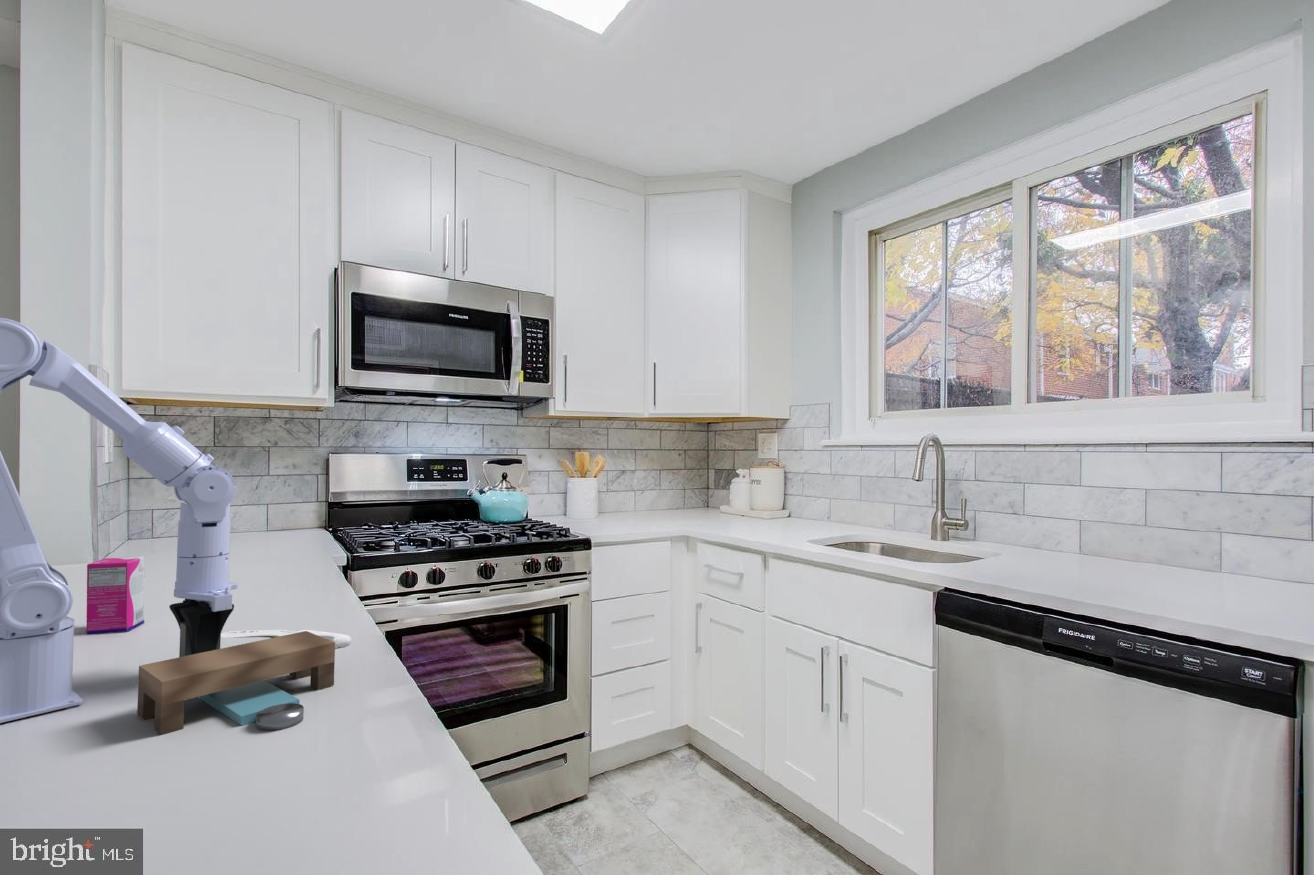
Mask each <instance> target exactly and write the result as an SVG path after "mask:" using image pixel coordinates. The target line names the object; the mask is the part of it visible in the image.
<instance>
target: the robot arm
mask: <svg viewBox="0 0 1314 875" xmlns="http://www.w3.org/2000/svg"><path fill="white" fill-rule="evenodd" d="M28 376H31V378H30V380H29V384H28V385H29V386H32V387H34V388H39V389H44V390H48V391H52V392H57V393H60V394H62V395H63V396H64V397H66V398H67V399H69V400H70V401H72V402H73V403H74V404H76V405H77V406H79V407H80V408H81V409H83V410H84V411H85V412H87V413H88V414H90V415H91V416H92V417H94V418H95V419H97V420H98V421H99V422H101V423H102V424H103V425H104V426H105V427H107V428H109V429H110V430H111V431H113V433H115V434H116V435H118V436H119V437H121V438H122V453H123V455H125V456H126V457H127V458H129V459H130V460H131V461H133V462H134V463H135V464H137V466H139V467H140V468H142V469H143V470H144V471H146V473H148V474H149V475H151V476H152V477H153V478H155V479H156V480H157V481H159V482H160V483H161V484H162V485H163V486H165V487H167V488H169V487H170V488H171V487H173V491H174V494H175V496H176V498H177V499H178V500H179V501H183V502H180V508H179V509H180V510H179V511H180V514H179V515H180V516H179V521H178V524H177V546H176V552H177V554H176V572H175V573H176V575H175V576H176V579H175V582H174V590H173V597H174V598H178V599H183V600H182V602H177V603H171V604H169V606H168V607H169V610H170V612H171V613H172V614H173V616H174V618H175V620H176V622H177V625H178V627H179V629H180V623H182V622H186V624H187V627H188V631H189V635H190V643H191V651H192V655H193V654H198V653H203V652H207V651H212V650H216V648H217V645H218V641H219V638H220V634H222V631H223V628H224V626H225V624H226V622H227V620H228V619H229V617H230V615H231V614H232V613H233V612H234V608H235V604H233V593H231V590H236V589H237V590H238V588H239V583H238V582H234V581H230V582H229V577H230V576H229V572H230V549H231V548H230V547H231V544H230V543H231V518H230V513H231V512H230V511H231V502H233V500H235V497H236V495H237V493H238V491H239V490H238V488H239V487H238V486H236V482H235V478H234V477H233V476H232V474H231V473H230V472H229V471H228V470H226V469H224V468H222V467H219V466H215V465H212V464H211V463H212V462H213V461H214V460H215V458H214V456H212V455H211V454H210V453H206V454H204V453H202V451H200V450H199V449H198V448H197V447H195V445H193V444H192V443H191V442H189V441H188V440H187V439H186V438H184V437H183V435H184V434H185V431H184V430H183V428H180V426H178V425H174V426H172V427H171V426H170V425H168V424H167V423H166V422H164V421H147V420H145V419H144V418H143V417H142V416H140V415H139V413H137V412H136V411H135V410H134V409H133V408H131V407H130V406H129V405H128V404H127V403H125V401H123V400H122V399H121V398H120V397H119V396H118V395H117V394H115V393H114V392H113V391H112V390H111V389H110V388H108V387H107V386H106V385H105V384H104V383H103V382H101V381H100V380H99V379H98V378H97V377H96V376H95V375H93V374H92V373H91V372H90V371H88V370H87V368H86V367H85V366H83V365H82V364H81V363H79V362H78V361H76V360H75V359H74V358H73V357H71V356H70V355H68V354H67V353H65V351H63V350H62V349H60V348H59V347H58V346H56V345H54V344H52V343H51V342H50V341H48V340H46V339H44V340H43V342H42V343H41V340H40V339H39V337H38V335H37V334H36V333H35V332H34V330H32V329H31V328H30V327H28V326H26V325H25V324H23V323H21V322H19V321H16V320H14V319H9V318H5V317H4V318H3V317H0V395H2V393H3V391H4V390H6V388H9V386H12V385H14V384H16V383H17V382H19V381H21V380H23V379H24V378H26V377H28ZM9 470H10V469H9V468H8V465H7V464H6V461H5V459H4V456H3V453H2V451H1V450H0V724H2V723H7V722H10V721H11V722H12V721H15V720H19V719H23V718H27V717H32V716H36V715H41V714H45V713H49V712H54V711H59V710H63V709H66V708H67V709H68V708H71V707H75V706H79V705H82V704H83V702H84V701H83V698H81V696H79V694H77V693H76V691H75V690H74V689H73V665H74V664H73V662H74V638H75V619H74V618H72V617H70V616H68V614H70V611H71V610H72V607H73V604H74V596H73V592H72V590H71V589H70V587H69V583H68V580H67V578H66V577H65V575H64V574H62V573H61V572H60V571H59V570H57V569H55V568H54V567H52V566H51V565H50V564H49V562H48V560H47V558H46V557H45V554H44V551H43V549H42V547H41V544H40V543H39V540H38V538H37V535H36V533H35V531H34V528H33V526H32V523H31V521H30V520H31V519H29V516H28V514H27V511H26V509H25V507H24V506H25V505H24V504H23V502H22V500H21V497H20V495H19V492H18V490H17V487H16V484H15V482H14V480H13V478H12V474H11V473H10V471H9Z"/></svg>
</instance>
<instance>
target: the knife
mask: <svg viewBox="0 0 1314 875" xmlns="http://www.w3.org/2000/svg"><path fill="white" fill-rule="evenodd" d="M303 631H307V632H310V633H313V634H315V635H318V636H320V637H323V638H326V639H328V640H331V641H333V642H335V649H337V648H336V647H341V648H344V647H348V646H350V644H351V643H352V638H351V635H349V634H348V635H347V634H343V633H338V632H337V633H336V632H329V631H322V630H321V631H320V630H311V629H301V630H298V631H293V630H288V629H257V630H231V631H225V632H221V638H222V639H225V638H226V639H227V638H232V639H234V638H233V637H236V638H254V637H272V638H275V637H279V636H284V635H289V634H294V633H299V632H303Z"/></svg>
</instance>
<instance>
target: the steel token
mask: <svg viewBox="0 0 1314 875" xmlns="http://www.w3.org/2000/svg"><path fill="white" fill-rule="evenodd" d="M304 709H305V708H304V705H302V704H300V703H299V704H295V703H288V704H279V705H275V706H271V707H268V708H265V709H263V710H261V711H260V712H258V713H257V715H256V721H255V729H256V730H258V731H261V732H276V731H282V730H286V729H290V728H292V727H295V726H297V725H299V724H300V723H302V722H303V721H304V714H305V713H304V712H305V711H304Z"/></svg>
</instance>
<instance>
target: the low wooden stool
mask: <svg viewBox="0 0 1314 875" xmlns="http://www.w3.org/2000/svg"><path fill="white" fill-rule="evenodd" d="M335 658H336V648H335V642H333V641H331V640H328V639H326V638H323V637H320V636H318V635H315V634H313V633H310V632H307V631H303V632H299V633H294V634H289V635H284V636H279V637H270V638H266V639H261V640H256V641H250V642H247V643H241V644H238V645H232V646H228V647H224V648H220V649H217V650H212V651H207V652H203V653H198V654H193V655H188V656H183V657H179V656H178V657H175V658H170V659H166V660H160V661H155V662H151V663H146V664H141V665H138V682H137V683H138V684H137V685H138V686H137V711H136V713H137V714H136V715H137V716H138V717H139V719H141V720H143V721H144V720H146V719H147V720H148V719H150V718H154V722H153V723H154V726H153V729H154V731H155V732H156V733H158V735H165V734H167V733H168V734H169V733H172V732H176V731H179V730H182V729H184V725H185V723H184V722H185V721H184V720H185V701H186V700H191V699H194V698H199V696H203V695H207V694H211V693H214V692H218V691H222V690H226V689H230V688H234V687H238V686H242V685H246V684H250V683H254V682H258V681H261V680H264V681H265V680H268V679H272V678H276V677H280V676H284V675H288V676H289V677H291V678H293V679H294V680H299V679H302V678H305V677H309V676H310V681H309V682H310V685H309V686H310V687H311V688H313V689H314V690H317V689H320V690H323V689H326V687H327V688H329V687H330V688H331V687H333V685H334V686H335V664H336V663H335V660H336V659H335ZM298 678H299V679H298Z"/></svg>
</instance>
